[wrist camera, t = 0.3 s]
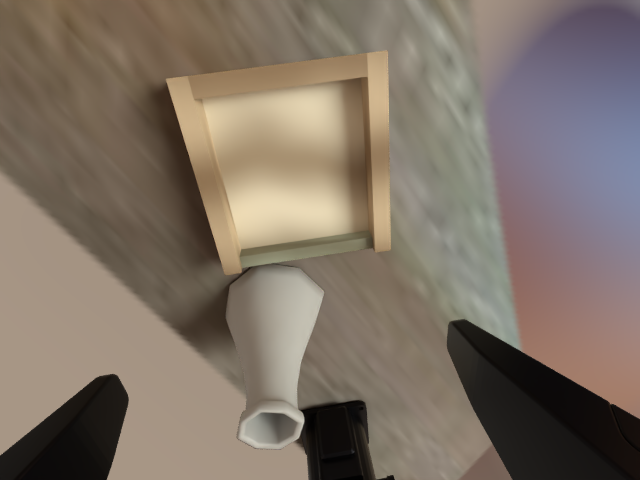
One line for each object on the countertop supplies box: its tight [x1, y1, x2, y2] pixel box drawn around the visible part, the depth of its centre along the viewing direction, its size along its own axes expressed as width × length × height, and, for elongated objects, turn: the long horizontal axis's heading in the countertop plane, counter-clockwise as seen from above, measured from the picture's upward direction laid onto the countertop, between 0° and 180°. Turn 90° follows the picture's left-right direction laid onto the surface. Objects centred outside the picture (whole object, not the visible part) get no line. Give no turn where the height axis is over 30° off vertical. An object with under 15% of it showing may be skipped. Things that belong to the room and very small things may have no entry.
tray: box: [166, 50, 391, 275], centre depth 19 cm, size 11×10×2 cm
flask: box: [225, 264, 324, 450], centre depth 20 cm, size 7×7×10 cm
